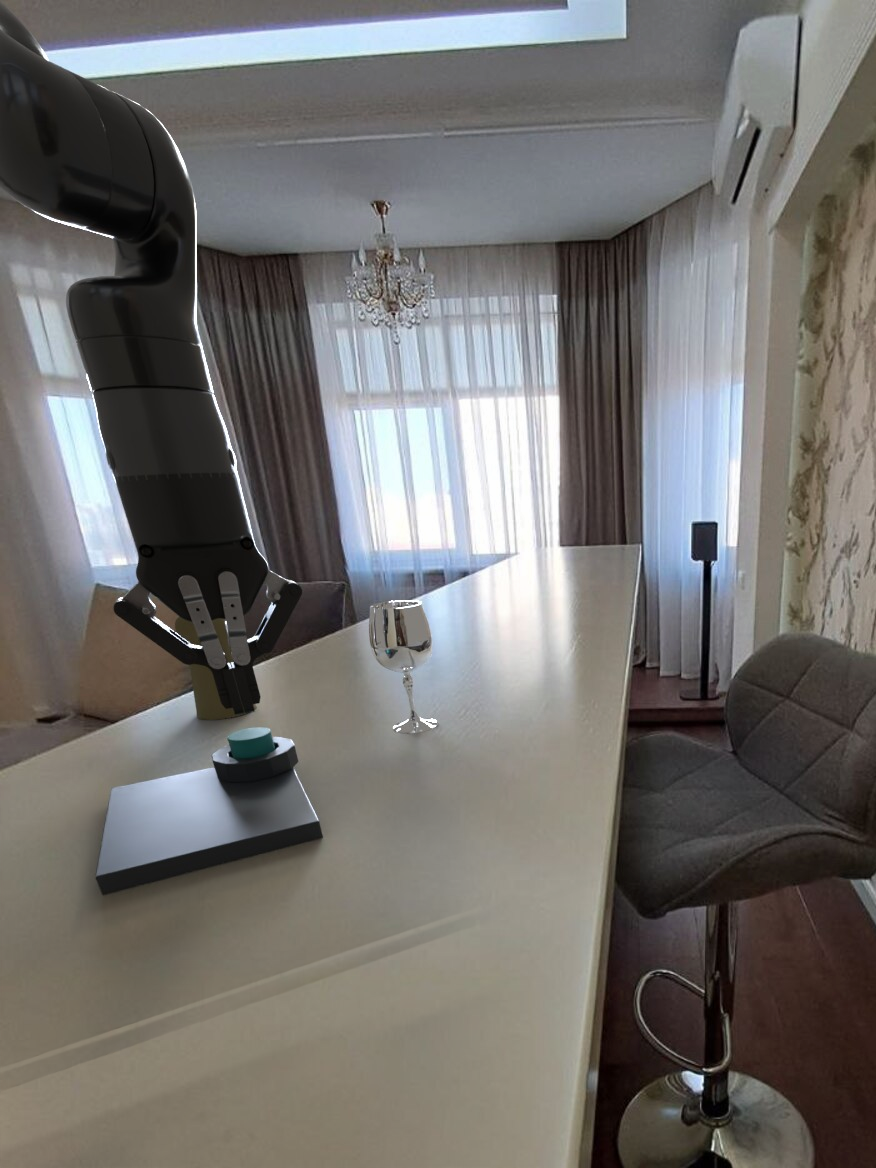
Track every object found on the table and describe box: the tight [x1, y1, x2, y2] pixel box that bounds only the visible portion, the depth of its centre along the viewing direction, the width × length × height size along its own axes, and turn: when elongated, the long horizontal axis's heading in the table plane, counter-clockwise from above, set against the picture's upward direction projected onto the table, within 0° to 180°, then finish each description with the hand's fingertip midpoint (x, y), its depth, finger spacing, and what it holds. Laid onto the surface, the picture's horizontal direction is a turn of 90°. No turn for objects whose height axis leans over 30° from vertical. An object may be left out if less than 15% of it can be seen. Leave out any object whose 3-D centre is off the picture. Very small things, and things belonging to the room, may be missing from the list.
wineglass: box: [368, 600, 439, 734], centre depth 66 cm, size 6×6×12 cm
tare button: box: [227, 726, 275, 759], centre depth 55 cm, size 3×3×2 cm
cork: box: [174, 615, 257, 721], centre depth 74 cm, size 6×6×11 cm
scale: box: [94, 736, 324, 896], centre depth 51 cm, size 16×14×3 cm
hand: (243, 710), depth 54 cm, fingers closed
